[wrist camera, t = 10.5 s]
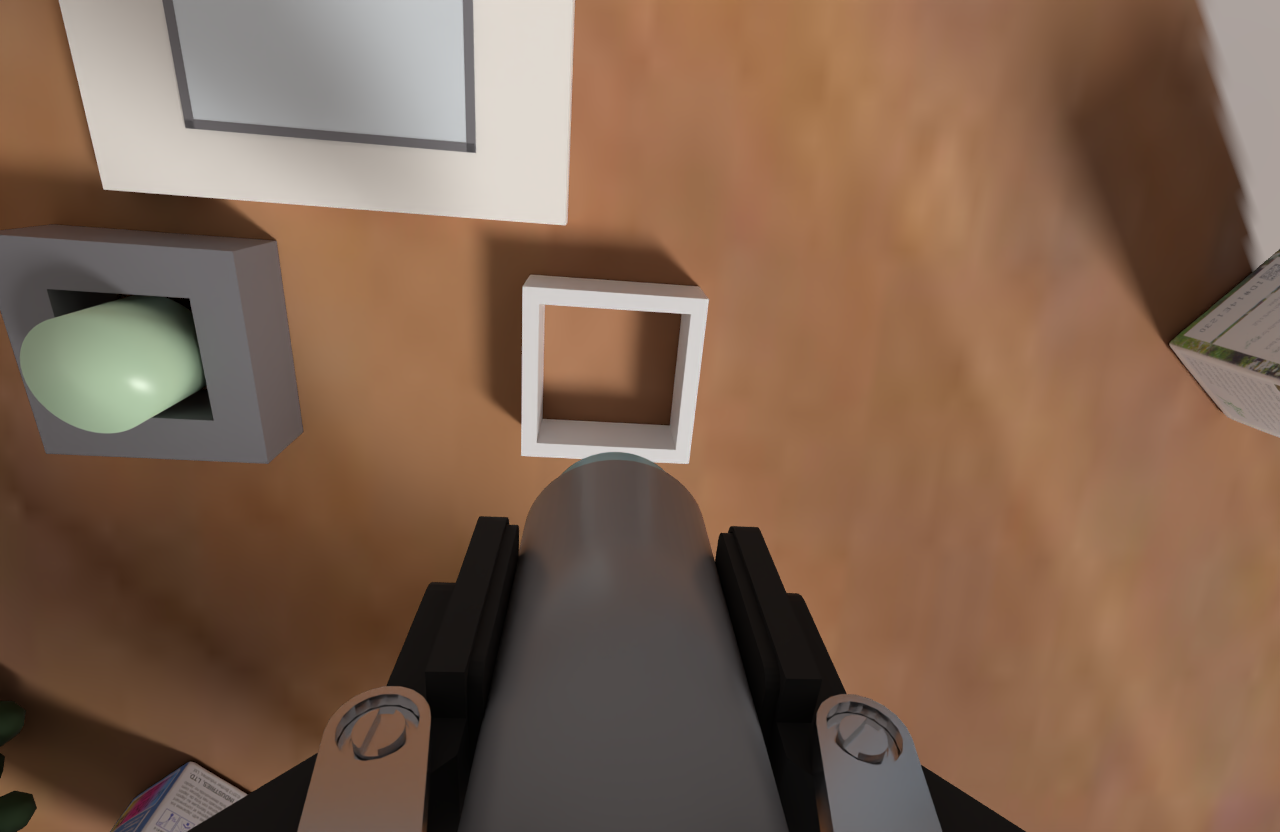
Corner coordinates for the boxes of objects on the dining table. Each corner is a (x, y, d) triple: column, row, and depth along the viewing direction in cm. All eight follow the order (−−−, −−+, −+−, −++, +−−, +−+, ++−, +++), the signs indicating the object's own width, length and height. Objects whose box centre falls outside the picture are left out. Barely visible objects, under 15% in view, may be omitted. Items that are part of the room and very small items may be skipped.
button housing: (276, 240, 23) (232, 251, 21) (303, 431, 27) (268, 463, 24) (52, 224, 23) (-25, 233, 20) (105, 422, 26) (46, 453, 23)
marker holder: (699, 286, 25) (708, 299, 23) (681, 438, 28) (688, 463, 25) (530, 274, 24) (522, 286, 22) (528, 430, 27) (521, 455, 25)
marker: (709, 438, 14) (934, 1034, 4) (689, 585, 16) (824, 1261, 6) (528, 429, 14) (352, 1049, 4) (526, 580, 15) (394, 1286, 6)
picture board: (579, -138, 20) (577, -157, 18) (567, 222, 24) (565, 225, 23) (41, -204, 18) (1, -230, 17) (128, 188, 23) (100, 189, 21)
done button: (206, 297, 23) (139, 320, 19) (225, 399, 24) (166, 436, 21) (89, 290, 22) (3, 312, 19) (116, 393, 24) (40, 430, 21)
